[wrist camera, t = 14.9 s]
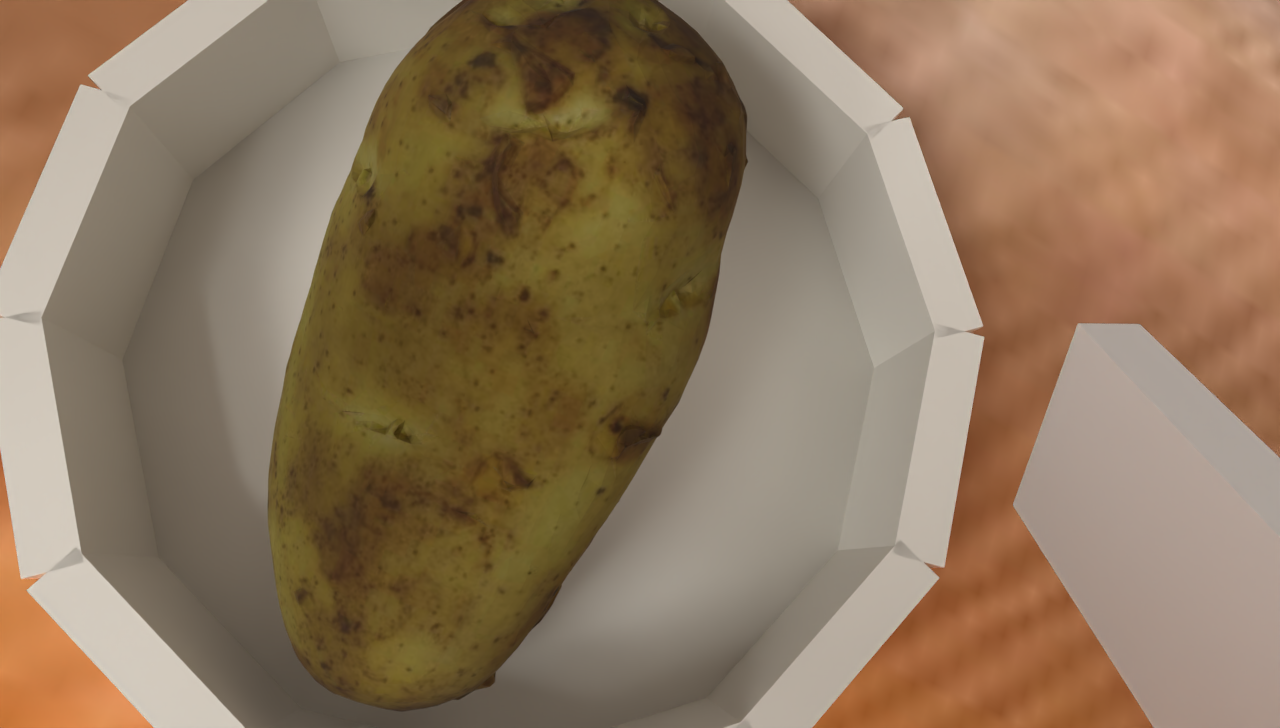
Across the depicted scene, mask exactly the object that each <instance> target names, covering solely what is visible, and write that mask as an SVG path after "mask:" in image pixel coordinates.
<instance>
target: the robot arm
mask: <svg viewBox="0 0 1280 728" xmlns="http://www.w3.org/2000/svg"><path fill="white" fill-rule="evenodd" d="M1013 506H1014V508H1015V510H1016V511H1017V513H1018V514H1019V516H1020V518H1021V519H1022V521H1023V522H1024V524H1025V525H1026V527H1027V529H1028V530H1029V532H1030V533H1031V535H1032V536H1033V538H1034V540H1035V541H1036V543H1037V544H1038V546H1039V548H1040V549H1041V551H1042V552H1043V554H1044V555H1045V557H1046V559H1047V560H1048V562H1049V563H1050V565H1051V567H1052V568H1053V570H1054V571H1055V573H1056V574H1057V576H1058V578H1059V579H1060V581H1061V582H1062V584H1063V585H1064V587H1065V589H1066V590H1067V592H1068V593H1069V595H1070V597H1071V598H1072V600H1073V601H1074V603H1075V604H1076V606H1077V608H1078V609H1079V611H1080V612H1081V614H1082V615H1083V617H1084V619H1085V620H1086V622H1087V623H1088V625H1089V627H1090V628H1091V630H1092V631H1093V633H1094V634H1095V636H1096V638H1097V639H1098V641H1099V642H1100V644H1101V645H1102V647H1103V649H1104V650H1105V652H1106V653H1107V655H1108V657H1109V658H1110V660H1111V661H1112V663H1113V664H1114V666H1115V668H1116V669H1117V671H1118V672H1119V674H1120V675H1121V677H1122V679H1123V680H1124V682H1125V683H1126V685H1127V687H1128V688H1129V690H1130V691H1131V693H1132V694H1133V696H1134V698H1135V699H1136V701H1137V702H1138V704H1139V705H1140V707H1141V709H1142V710H1143V712H1144V713H1145V715H1146V717H1147V718H1148V720H1149V721H1150V723H1151V724H1152V726H1153V728H1280V458H1279V457H1278V456H1277V455H1276V454H1275V453H1274V452H1273V451H1272V450H1271V449H1270V448H1269V447H1268V446H1267V445H1266V444H1265V443H1264V442H1263V441H1262V440H1261V439H1260V438H1259V437H1257V436H1256V435H1255V434H1254V433H1253V432H1252V431H1251V430H1250V429H1249V428H1248V427H1247V426H1246V425H1245V424H1244V423H1243V422H1242V421H1241V420H1240V419H1239V418H1238V417H1237V416H1235V415H1234V414H1233V413H1232V412H1231V411H1230V410H1229V409H1228V408H1227V407H1226V406H1225V405H1224V404H1223V403H1222V402H1221V401H1220V400H1219V399H1218V398H1217V397H1216V396H1215V395H1214V394H1212V393H1211V392H1210V391H1209V390H1208V389H1207V388H1206V387H1205V386H1204V385H1203V384H1202V383H1201V382H1200V381H1199V380H1198V379H1197V378H1196V377H1195V376H1194V375H1193V374H1192V373H1190V372H1189V371H1188V370H1187V369H1186V368H1185V367H1184V366H1183V365H1182V364H1181V363H1180V362H1179V361H1178V360H1177V359H1176V358H1175V357H1174V356H1173V355H1172V354H1171V353H1170V352H1168V351H1167V350H1166V349H1165V348H1164V347H1163V346H1162V345H1161V344H1160V343H1159V342H1158V341H1157V340H1156V339H1155V338H1154V337H1153V336H1152V335H1151V334H1150V333H1149V332H1148V331H1147V330H1145V329H1144V328H1143V327H1142V326H1141V325H1140V324H1097V323H1078V325H1077V327H1076V330H1075V333H1074V336H1073V338H1072V341H1071V344H1070V347H1069V350H1068V352H1067V355H1066V358H1065V361H1064V364H1063V366H1062V369H1061V372H1060V375H1059V377H1058V380H1057V383H1056V386H1055V389H1054V391H1053V394H1052V397H1051V400H1050V403H1049V405H1048V408H1047V411H1046V414H1045V417H1044V419H1043V422H1042V425H1041V428H1040V430H1039V433H1038V436H1037V439H1036V442H1035V444H1034V447H1033V450H1032V453H1031V456H1030V458H1029V461H1028V464H1027V467H1026V470H1025V472H1024V475H1023V478H1022V481H1021V483H1020V486H1019V489H1018V492H1017V495H1016V497H1015V500H1014V503H1013Z"/></svg>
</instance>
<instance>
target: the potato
mask: <svg viewBox="0 0 1280 728" xmlns="http://www.w3.org/2000/svg"><path fill="white" fill-rule="evenodd" d="M746 134H747V113H746V109H745V106H744V104H743V102H742V100H741V99H740V97H739V95H738V92H737V90H736V87H735V85H734V83H733V81H732V79H731V77H730V75H729V73H728V71H727V69H726V67H725V65H724V64H723V62H722V60H721V59H720V58H719V57H718V56H717V54H716V53H715V52H714V51H713V49H712V48H711V47H710V46H709V45H708V44H707V42H706V41H705V40H704V39H703V38H702V37H701V36H700V34H699V33H698V32H697V31H696V30H695V29H693V28H692V27H691V26H690V25H689V24H688V23H687V22H685V21H684V20H683V19H682V18H681V17H679V16H678V15H677V14H675V13H674V12H673V11H671V10H670V9H668V8H667V7H666V6H664V5H663V4H662V3H660V2H659V1H657V0H462V1H461V2H460V3H458V4H457V5H456V6H455V7H453V8H452V9H451V10H450V11H448V12H447V13H446V14H445V15H444V16H443V17H441V18H440V19H439V20H438V21H437V22H436V23H435V24H434V25H433V26H432V27H430V29H429V30H428V32H427V33H426V35H424V36H423V37H422V38H421V39H420V40H419V41H418V42H417V43H416V44H415V46H414V47H413V48H412V49H411V50H410V51H409V52H408V54H407V55H406V56H405V57H404V59H403V60H402V61H401V62H400V64H399V65H398V66H397V67H396V69H395V70H394V72H393V73H392V75H391V76H390V78H389V80H388V81H387V83H386V84H385V86H384V88H383V90H382V92H381V94H380V96H379V98H378V100H377V101H376V104H375V106H374V109H373V111H372V114H371V116H370V118H369V121H368V124H367V126H366V129H365V132H364V136H363V140H362V142H361V144H360V147H359V149H358V151H357V154H356V156H355V158H354V161H353V164H352V168H351V171H350V173H349V175H348V177H347V179H346V182H345V184H344V186H343V189H342V191H341V193H340V195H339V197H338V199H337V201H336V204H335V206H334V208H333V211H332V213H331V217H330V220H329V224H328V226H327V229H326V233H325V236H324V239H323V243H322V246H321V250H320V253H319V257H318V260H317V264H316V267H315V270H314V274H313V279H312V283H311V286H310V289H309V293H308V296H307V299H306V302H305V305H304V309H303V312H302V316H301V319H300V322H299V325H298V328H297V331H296V335H295V338H294V341H293V345H292V349H291V353H290V357H289V360H288V363H287V366H286V372H285V378H284V384H283V390H282V394H281V399H280V404H279V408H278V413H277V418H276V423H275V428H274V435H273V442H272V450H271V457H270V465H269V475H268V504H267V507H268V529H269V537H270V545H271V552H272V560H273V567H274V575H275V583H276V590H277V595H278V600H279V606H280V610H281V614H282V618H283V622H284V626H285V629H286V631H287V634H288V637H289V639H290V642H291V644H292V647H293V649H294V652H295V654H296V656H297V658H298V659H299V661H300V662H301V663H302V665H303V666H304V668H305V669H306V670H307V671H308V673H309V674H310V675H311V676H312V677H313V678H314V680H315V681H316V682H318V683H319V684H320V685H322V686H323V687H325V688H326V689H327V690H329V691H330V692H332V693H334V694H336V695H339V696H342V697H345V698H347V699H350V700H353V701H356V702H359V703H362V704H366V705H370V706H374V707H378V708H382V709H386V710H393V711H400V712H403V711H410V710H417V709H424V708H429V707H434V706H438V705H441V704H443V703H446V702H448V701H451V700H460V699H462V698H463V697H465V696H467V695H468V694H470V693H472V692H473V691H475V690H478V689H482V688H487V687H490V686H491V685H492V684H494V683H495V676H496V671H497V670H498V669H499V668H500V667H501V666H502V665H503V664H504V663H505V661H506V660H507V659H508V658H509V657H510V656H511V655H512V654H513V652H514V651H515V650H516V649H517V648H518V647H519V645H520V644H521V643H522V641H523V640H524V639H525V638H526V636H527V635H528V634H529V632H530V631H531V630H532V629H533V628H534V627H535V626H536V625H537V624H538V623H540V622H541V620H542V619H543V617H544V616H545V615H546V613H547V612H548V611H549V609H550V608H551V606H552V605H553V603H554V600H555V598H556V596H557V595H558V593H559V591H560V589H561V587H562V583H563V582H564V580H565V579H566V577H567V576H568V574H569V573H570V571H571V570H572V569H573V567H574V566H575V564H576V563H577V562H578V560H579V559H580V558H581V556H582V555H583V553H584V552H585V551H586V549H587V548H588V546H589V545H590V544H591V542H592V540H593V538H594V537H595V535H596V533H597V532H598V531H599V529H600V528H601V527H602V525H603V524H604V523H605V521H606V520H607V518H608V517H609V515H610V514H611V512H612V511H613V509H614V508H615V506H616V504H617V503H618V502H619V501H620V498H621V497H622V495H623V494H624V492H625V491H626V489H627V487H628V486H629V484H630V482H631V481H632V479H633V477H634V476H635V474H636V472H637V471H638V469H639V467H640V466H641V464H642V462H643V460H644V459H645V457H646V455H647V454H648V452H649V450H650V448H651V447H652V445H653V443H654V442H655V440H656V438H657V437H659V436H660V435H661V433H662V428H663V426H664V425H665V423H666V422H667V420H668V419H669V417H670V416H671V414H672V413H673V411H674V409H675V408H676V406H677V405H678V403H679V402H680V399H681V397H682V394H683V392H684V390H685V387H686V385H687V383H688V381H689V379H690V377H691V375H692V372H693V370H694V368H695V366H696V364H697V361H698V359H699V356H700V354H701V351H702V348H703V345H704V343H705V340H706V337H707V334H708V330H709V326H710V321H711V317H712V311H713V306H714V300H715V295H716V290H717V284H718V279H719V273H720V262H721V253H722V250H723V246H724V242H725V238H726V234H727V231H728V228H729V225H730V222H731V219H732V216H733V213H734V210H735V206H736V202H737V199H738V195H739V192H740V188H741V185H742V179H743V173H744V169H745V167H746V165H747V163H748V159H747V156H746Z"/></svg>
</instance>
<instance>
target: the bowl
mask: <svg viewBox="0 0 1280 728" xmlns="http://www.w3.org/2000/svg"><path fill="white" fill-rule="evenodd" d="M461 1H462V0H188V1H186V2H185V3H184V4H182V5H181V6H180V7H178V8H177V9H176V10H174V11H173V12H172V13H170V14H169V15H168V16H166V17H165V18H164V19H162V20H161V21H160V22H158V23H157V24H156V25H154V26H153V27H152V28H150V29H149V30H148V31H146V32H145V33H144V34H142V35H141V36H140V37H138V38H137V39H136V40H134V41H133V42H132V43H130V44H129V45H128V46H126V47H125V48H124V49H122V50H121V51H119V52H118V53H117V54H115V55H114V56H113V57H111V58H110V59H109V60H107V61H106V62H105V63H103V64H102V65H101V66H99V67H98V68H97V69H95V70H94V71H93V72H91V73H90V74H89V75H88V76H89V78H90V79H91V80H92V81H93V82H94V83H95V84H96V85H97V87H98V88H99V89H100V90H99V89H96V88H92V87H89V86H85V85H82V84H80V86H79V89H78V91H77V93H76V96H75V98H74V100H73V103H72V105H71V107H70V109H69V112H68V114H67V116H66V119H65V121H64V123H63V126H62V128H61V130H60V132H59V135H58V137H57V139H56V142H55V144H54V146H53V149H52V151H51V153H50V155H49V158H48V160H47V162H46V165H45V167H44V169H43V172H42V174H41V176H40V178H39V181H38V183H37V185H36V188H35V190H34V192H33V195H32V197H31V199H30V201H29V204H28V206H27V208H26V211H25V213H24V215H23V218H22V220H21V222H20V224H19V227H18V229H17V231H16V234H15V236H14V238H13V241H12V243H11V245H10V247H9V250H8V252H7V254H6V257H5V259H4V261H3V264H2V266H1V268H0V450H1V456H2V463H3V469H4V475H5V482H6V488H7V494H8V501H9V507H10V513H11V519H12V526H13V532H14V538H15V545H16V551H17V557H18V564H19V570H20V576H21V579H39V580H38V581H36V582H35V583H34V584H33V585H32V586H31V587H30V588H28V589H27V592H28V593H29V594H30V595H31V596H32V597H33V598H34V599H35V600H36V601H37V602H38V603H39V604H40V606H41V607H42V608H43V609H44V610H45V611H46V612H47V613H48V614H49V615H50V616H51V617H52V618H53V620H54V621H55V622H56V623H57V624H58V625H59V626H60V627H61V628H62V629H63V630H64V631H65V632H66V634H67V635H68V636H69V637H70V638H71V639H72V640H73V641H74V642H75V643H76V644H77V645H78V646H79V648H80V649H81V650H82V651H83V652H84V653H85V654H86V655H87V656H88V657H89V658H90V659H91V660H92V662H93V663H94V664H95V665H96V666H97V667H98V668H99V669H100V670H101V671H102V672H103V673H104V674H105V676H106V677H107V678H108V679H109V680H110V681H111V682H112V683H113V684H114V685H115V686H116V687H117V688H118V690H119V691H120V692H121V693H122V694H123V695H124V696H125V697H126V698H127V699H128V700H129V701H130V702H131V704H132V705H133V706H134V707H135V708H136V709H137V710H138V711H139V712H140V713H141V714H142V715H143V716H144V718H145V719H146V720H147V721H148V722H149V723H150V724H151V725H152V726H153V727H154V728H812V727H813V726H814V725H815V724H816V722H817V721H818V720H819V719H820V718H821V717H822V715H823V714H824V713H825V712H826V711H827V710H828V708H829V707H830V706H831V705H832V704H833V703H834V701H835V700H836V699H837V698H838V697H839V695H840V694H841V693H842V692H843V691H844V690H845V688H846V687H847V686H848V685H849V684H850V683H851V681H852V680H853V679H854V678H855V677H856V675H857V674H858V673H859V672H860V671H861V670H862V668H863V667H864V666H865V665H866V664H867V663H868V661H869V660H870V659H871V658H872V657H873V656H874V654H875V653H876V652H877V651H878V650H879V648H880V647H881V646H882V645H883V644H884V643H885V641H886V640H887V639H888V638H889V637H890V636H891V634H892V633H893V632H894V631H895V630H896V628H897V627H898V626H899V625H900V624H901V623H902V621H903V620H904V619H905V618H906V617H907V616H908V614H909V613H910V612H911V611H912V610H913V609H914V607H915V606H916V605H917V604H918V603H919V601H920V600H921V599H922V598H923V597H924V596H925V594H926V593H927V592H928V591H929V590H930V589H931V587H932V586H933V585H934V584H935V583H936V581H937V580H938V579H939V577H938V576H937V575H936V574H935V573H934V572H933V571H932V570H931V569H930V568H944V567H945V561H946V555H947V550H948V544H949V538H950V532H951V526H952V521H953V515H954V509H955V503H956V498H957V492H958V486H959V480H960V475H961V469H962V463H963V457H964V452H965V446H966V440H967V434H968V429H969V423H970V417H971V411H972V406H973V400H974V394H975V388H976V383H977V377H978V371H979V365H980V360H981V354H982V348H983V342H984V337H983V336H979V335H976V334H972V332H974V331H976V330H978V329H980V328H981V327H983V324H982V321H981V318H980V315H979V312H978V309H977V307H976V304H975V301H974V298H973V295H972V292H971V290H970V287H969V284H968V281H967V278H966V275H965V273H964V270H963V267H962V264H961V261H960V259H959V256H958V253H957V250H956V247H955V244H954V242H953V239H952V236H951V233H950V230H949V227H948V225H947V222H946V219H945V216H944V213H943V210H942V208H941V205H940V202H939V199H938V196H937V193H936V191H935V188H934V185H933V182H932V179H931V176H930V174H929V171H928V168H927V165H926V162H925V160H924V157H923V154H922V151H921V148H920V145H919V143H918V140H917V137H916V134H915V131H914V128H913V126H912V123H911V120H910V117H907V118H902V119H897V120H895V119H896V117H897V116H898V115H899V114H900V112H901V111H902V110H903V109H904V108H903V107H902V106H901V105H900V104H899V103H897V102H896V101H895V100H894V99H893V98H892V97H891V96H890V95H889V94H888V93H887V92H886V91H885V90H883V89H882V88H881V87H880V86H879V85H878V84H877V83H876V82H875V81H874V80H873V79H872V78H871V77H869V76H868V75H867V74H866V73H865V72H864V71H863V70H862V69H861V68H860V67H859V66H858V65H856V64H855V63H854V62H853V61H852V60H851V59H850V58H849V57H848V56H847V55H846V54H845V53H844V52H842V51H841V50H840V49H839V48H838V47H837V46H836V45H835V44H834V43H833V42H832V41H831V40H830V39H828V38H827V37H826V36H825V35H824V34H823V33H822V32H821V31H820V30H819V29H818V28H817V27H816V26H814V25H813V24H812V23H811V22H810V21H809V20H808V19H807V18H806V17H805V16H804V15H803V14H801V13H800V12H799V11H798V10H797V9H796V8H795V7H794V6H793V5H792V4H791V3H790V2H789V1H787V0H657V1H659V2H660V3H662V4H663V5H664V6H666V7H667V8H668V9H670V10H671V11H673V12H674V13H675V14H677V15H678V16H679V17H681V18H682V19H683V20H684V21H685V22H687V23H688V24H689V25H690V26H691V27H692V28H693V29H695V30H696V31H697V32H698V33H699V34H700V36H701V37H702V38H703V39H704V40H705V41H706V42H707V44H708V45H709V46H710V47H711V48H712V49H713V51H714V52H715V53H716V54H717V56H718V57H719V58H720V59H721V60H722V62H723V64H724V65H725V67H726V69H727V71H728V73H729V75H730V77H731V79H732V81H733V83H734V85H735V87H736V90H737V92H738V95H739V97H740V99H741V100H742V102H743V104H744V106H745V109H746V113H747V134H746V156H747V159H748V163H747V165H746V167H745V169H744V173H743V179H742V185H741V188H740V192H739V195H738V199H737V202H736V206H735V210H734V213H733V216H732V219H731V222H730V225H729V228H728V231H727V234H726V238H725V242H724V246H723V250H722V253H721V262H720V273H719V279H718V284H717V290H716V295H715V300H714V306H713V311H712V317H711V321H710V326H709V330H708V334H707V337H706V340H705V343H704V345H703V348H702V351H701V354H700V356H699V359H698V361H697V364H696V366H695V368H694V370H693V372H692V375H691V377H690V379H689V381H688V383H687V385H686V387H685V390H684V392H683V394H682V397H681V399H680V402H679V403H678V405H677V406H676V408H675V409H674V411H673V413H672V414H671V416H670V417H669V419H668V420H667V422H666V423H665V425H664V426H663V428H662V433H661V435H660V436H659V437H657V438H656V440H655V442H654V443H653V445H652V447H651V448H650V450H649V452H648V454H647V455H646V457H645V459H644V460H643V462H642V464H641V466H640V467H639V469H638V471H637V472H636V474H635V476H634V477H633V479H632V481H631V482H630V484H629V486H628V487H627V489H626V491H625V492H624V494H623V495H622V497H621V498H620V501H619V502H618V503H617V504H616V506H615V508H614V509H613V511H612V512H611V514H610V515H609V517H608V518H607V520H606V521H605V523H604V524H603V525H602V527H601V528H600V529H599V531H598V532H597V533H596V535H595V537H594V538H593V540H592V542H591V544H590V545H589V546H588V548H587V549H586V551H585V552H584V553H583V555H582V556H581V558H580V559H579V560H578V562H577V563H576V564H575V566H574V567H573V569H572V570H571V571H570V573H569V574H568V576H567V577H566V579H565V580H564V582H563V583H562V587H561V589H560V591H559V593H558V595H557V596H556V598H555V600H554V603H553V605H552V606H551V608H550V609H549V611H548V612H547V613H546V615H545V616H544V617H543V619H542V620H541V622H540V623H538V624H537V625H536V626H535V627H534V628H533V629H532V630H531V631H530V632H529V634H528V635H527V636H526V638H525V639H524V640H523V641H522V643H521V644H520V645H519V647H518V648H517V649H516V650H515V651H514V652H513V654H512V655H511V656H510V657H509V658H508V659H507V660H506V661H505V663H504V664H503V665H502V666H501V667H500V668H499V669H498V670H497V671H496V676H495V683H494V684H492V685H491V686H490V687H487V688H482V689H478V690H475V691H473V692H472V693H470V694H468V695H467V696H465V697H463V698H462V699H460V700H451V701H448V702H446V703H443V704H441V705H438V706H434V707H429V708H424V709H417V710H410V711H403V712H400V711H393V710H386V709H382V708H378V707H374V706H370V705H366V704H362V703H359V702H356V701H353V700H350V699H347V698H345V697H342V696H339V695H336V694H334V693H332V692H330V691H329V690H327V689H326V688H325V687H323V686H322V685H320V684H319V683H318V682H316V681H315V680H314V678H313V677H312V676H311V675H310V674H309V673H308V671H307V670H306V669H305V668H304V666H303V665H302V663H301V662H300V661H299V659H298V658H297V656H296V654H295V652H294V649H293V647H292V644H291V642H290V639H289V637H288V634H287V631H286V629H285V626H284V622H283V618H282V614H281V610H280V606H279V600H278V595H277V590H276V583H275V575H274V567H273V560H272V552H271V545H270V537H269V529H268V507H267V504H268V475H269V465H270V457H271V450H272V442H273V435H274V428H275V423H276V418H277V413H278V408H279V404H280V399H281V394H282V390H283V384H284V378H285V372H286V366H287V363H288V360H289V357H290V353H291V349H292V345H293V341H294V338H295V335H296V331H297V328H298V325H299V322H300V319H301V316H302V312H303V309H304V305H305V302H306V299H307V296H308V293H309V289H310V286H311V283H312V279H313V274H314V270H315V267H316V264H317V260H318V257H319V253H320V250H321V246H322V243H323V239H324V236H325V233H326V229H327V226H328V224H329V220H330V217H331V213H332V211H333V208H334V206H335V204H336V201H337V199H338V197H339V195H340V193H341V191H342V189H343V186H344V184H345V182H346V179H347V177H348V175H349V173H350V171H351V168H352V164H353V161H354V158H355V156H356V154H357V151H358V149H359V147H360V144H361V142H362V140H363V136H364V132H365V129H366V126H367V124H368V121H369V118H370V116H371V114H372V111H373V109H374V106H375V104H376V101H377V100H378V98H379V96H380V94H381V92H382V90H383V88H384V86H385V84H386V83H387V81H388V80H389V78H390V76H391V75H392V73H393V72H394V70H395V69H396V67H397V66H398V65H399V64H400V62H401V61H402V60H403V59H404V57H405V56H406V55H407V54H408V52H409V51H410V50H411V49H412V48H413V47H414V46H415V44H416V43H417V42H418V41H419V40H420V39H421V38H422V37H423V36H424V35H426V33H427V32H428V30H429V29H430V27H432V26H433V25H434V24H435V23H436V22H437V21H438V20H439V19H440V18H441V17H443V16H444V15H445V14H446V13H447V12H448V11H450V10H451V9H452V8H453V7H455V6H456V5H457V4H458V3H460V2H461Z"/></svg>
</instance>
